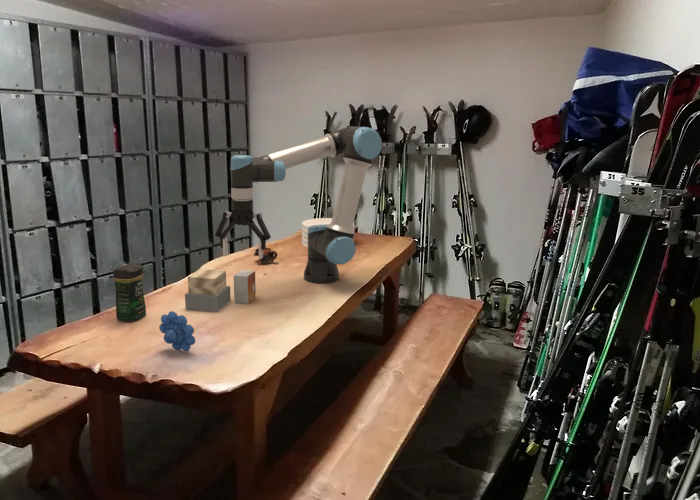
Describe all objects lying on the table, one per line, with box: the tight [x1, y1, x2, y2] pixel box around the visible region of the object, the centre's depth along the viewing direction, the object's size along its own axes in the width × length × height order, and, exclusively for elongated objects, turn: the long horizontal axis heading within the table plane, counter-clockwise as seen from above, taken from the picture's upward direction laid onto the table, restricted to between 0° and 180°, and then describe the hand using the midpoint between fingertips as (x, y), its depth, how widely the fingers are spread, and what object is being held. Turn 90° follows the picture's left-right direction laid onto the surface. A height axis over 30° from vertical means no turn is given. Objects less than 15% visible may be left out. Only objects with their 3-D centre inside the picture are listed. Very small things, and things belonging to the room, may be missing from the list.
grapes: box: [158, 311, 196, 352], centre depth 156 cm, size 12×7×12 cm, turn 72°
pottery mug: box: [253, 247, 278, 266], centre depth 252 cm, size 12×10×8 cm
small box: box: [232, 269, 257, 304], centre depth 200 cm, size 8×6×10 cm
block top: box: [187, 268, 227, 295], centre depth 194 cm, size 10×10×6 cm
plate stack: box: [301, 217, 355, 248], centre depth 290 cm, size 28×28×12 cm
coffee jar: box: [112, 262, 147, 323], centre depth 180 cm, size 10×8×19 cm
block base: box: [184, 285, 232, 313], centre depth 195 cm, size 12×12×6 cm
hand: (243, 256), depth 198 cm, fingers open, 13 cm apart
